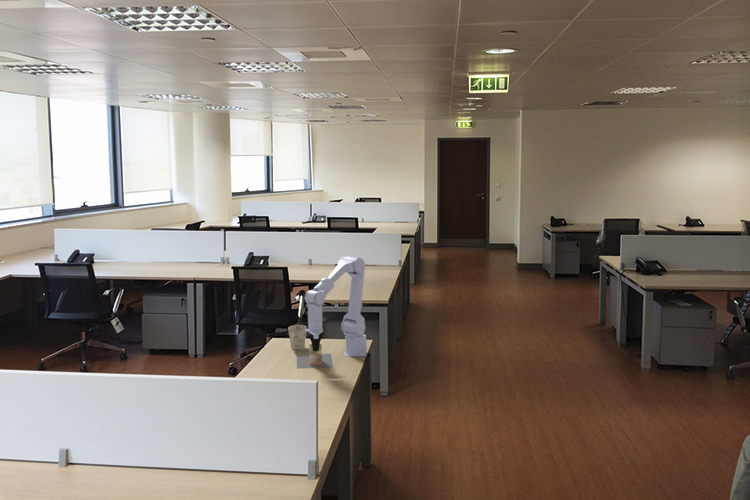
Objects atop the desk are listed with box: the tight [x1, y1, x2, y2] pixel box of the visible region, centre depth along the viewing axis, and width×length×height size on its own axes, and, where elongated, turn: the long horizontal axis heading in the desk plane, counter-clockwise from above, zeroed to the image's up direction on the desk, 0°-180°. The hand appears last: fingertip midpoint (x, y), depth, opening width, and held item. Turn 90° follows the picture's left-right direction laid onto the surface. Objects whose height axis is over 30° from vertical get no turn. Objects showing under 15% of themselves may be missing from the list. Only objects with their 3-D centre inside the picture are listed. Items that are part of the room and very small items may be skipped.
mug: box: [287, 324, 308, 351], centre depth 292 cm, size 8×13×10 cm, turn 174°
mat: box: [296, 353, 334, 369], centre depth 276 cm, size 15×18×1 cm
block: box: [308, 340, 323, 365], centre depth 272 cm, size 5×5×9 cm
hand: (315, 350), depth 267 cm, fingers closed
